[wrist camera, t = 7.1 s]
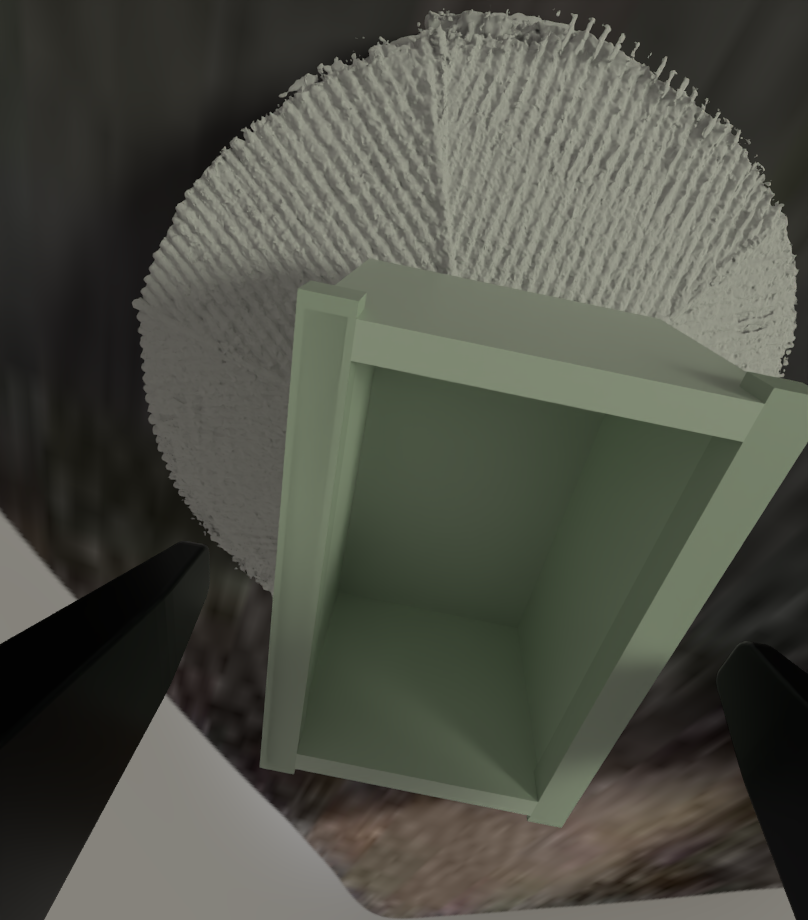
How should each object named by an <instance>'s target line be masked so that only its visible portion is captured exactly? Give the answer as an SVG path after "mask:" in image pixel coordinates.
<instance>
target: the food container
mask: <svg viewBox="0 0 808 920" xmlns="http://www.w3.org/2000/svg"><path fill="white" fill-rule="evenodd" d="M443 10H444V9H443ZM553 10H554V9H553ZM507 12H508V10H507ZM507 12H506V14H507ZM509 13H510V12H509ZM506 14H505V13H492V14H490V11H489V12H486V13H484V14H483V13H482V12H476V11H474V12H473V9H472V10H471V11H464V12H462V14H457V15H455V14H451V13H450V14H449V11H446V14H444V13H443V12H439V14H437V13H435V12H431V11H429V15H426V17H425V28H426V30H423V31H421V30H422V29H420V30H419V29H418V30H419V31H420V32H421V34H419V35H416V36H414V35H412V36H406V37H405V38H404V37H402V38H400V39H397V40H396V41H392V42H391V43H388V41H389V40H388V41H387V42H386V40H384V39H383V38H382V37H380V38H379V39H380V40H381V41H383V45H380V44H379V42H377V43H378V44H377V46H375V45H374V47H371V48H370V49H369V50H368V51H369V57H367V58H366V59H365V60H364V59H363V58H362V61H361V60H360V59H359V58H358V59H355V58H356V54H355V53H354V54H352V56H351V57H352V59H353V64H352V65H349V66H348V65H346V64H343V63H342V61H341V60H339V61H338V57H336V59H334V63H333V64H332V66H328V65H327V66H324V65H323V63H322V64H320V65H319V66H318V67H317V69H320V70H318V72H319V73H320V74H321V73H322V74H321V78H322V79H323V81H322V82H318V80H319V79H318V75H315V76H313V75H311V74H309V73H308V74H306V75H305V76H304V77H302V78H301V79H300V80H296V81H295V83H294V84H293V85H292V86H291V87H290V88H289V90H288V92H290V91H297V93H295V94H294V97H292V96H289V100H287V101H286V99H285V102H284V103H283V106H281V107H280V108H279V109H276V112H274V113H271V112H270V116H268V115H267V114H266V117H263V116H262V117H261V118H262V120H261V121H259V120H257V121H256V123H254V121H253V122H252V124H251V128H252V129H253V131H254V132H251V131H250V129H249V130H248V129H247V128H246V127H245V129H244V128H243V129H242V130H241V131H243V132H244V138H245V141H244V140H241V139H239V138H237V136H236V137H235V138H233V140H231V141H230V142H229V143H230V146H231V148H233V149H231V148H230V149H228V150H226V147H224V148H223V149H222V150H223V151H222V153H221V151H220V153H221V155H220V156H219V157H217V158H216V159H215V160H214V161H212V165H211V166H209V167H207V169H206V170H205V171H204V173H203V175H202V177H201V178H200V179H198V180H196V181H195V183H193V185H194V187H192V188H190V189H189V190H187V191H185V198H186V199H185V200H184V201H182V203H178V205H177V206H176V208H175V209H176V210H177V212H176V213H175V215H174V217H173V218H172V221H173V223H174V224H173V225H172V226H171V227H170V228H169V229H168V231H167V236H166V237H164V239H163V240H162V241H161V243H160V245H159V246H160V248H159V250H158V251H156V252H155V253H154V254H153V257H154V259H155V261H154V262H153V263H152V265H151V266H150V267H149V271H150V272H151V274H150V275H147V276H146V277H145V278H144V281H145V282H146V283H147V285H146V287H145V288H142V290H141V293H142V295H143V299H142V298H141V297H140V298H139V299H135V300H133V301H132V305H133V308H135V309H137V310H139V311H140V312H139V313H138V315H137V319H138V320H139V321H140V322H141V324H140V327H139V329H138V332H139V333H140V334H142V335H143V336H142V337H141V341H140V346H141V347H142V348H143V352H142V353H141V356H140V357H141V358H143V359H144V360H145V361H144V364H143V363H142V366H141V368H142V370H143V371H144V372H145V374H144V376H143V377H142V379H143V381H144V382H145V384H146V385H145V386H144V388H143V389H144V390H145V392H146V393H147V395H146V396H145V400H146V402H147V403H149V404H150V405H149V406H148V412H150V413H152V414H151V415H150V416H149V418H148V420H149V422H150V424H156V425H154V426H153V434H154V435H157V437H156V441H157V442H156V443H159V444H158V447H157V448H158V451H160V452H164V455H162V460H164V461H166V462H167V463H168V464H166V469H167V470H170V471H172V472H171V473H170V476H169V478H170V479H174V480H176V482H174V484H173V486H174V487H175V488H178V489H179V492H178V494H179V495H180V496H185V497H186V498H185V499H186V500H184V502H185V504H187V505H190V506H189V507H188V508H190V509H191V511H192V512H193V513H194V514H193V513H192V514H193V515H195V516H197V519H198V520H201V521H204V523H203V526H204V528H208V529H209V531H208V532H207V533H209V534H210V535H211V536H210V538H211V541H215V542H218V543H219V544H220V545H218V547H221V548H223V549H224V551H227V552H228V553H229V554H230V555H234V556H233V557H232V558H233V560H232V561H236V562H239V564H238V565H241V566H240V569H241V571H244V570H245V569H246V570H247V574H246V575H248V576H250V578H251V579H252V577H253V576H254V577H255V579H256V580H255V581H256V582H260V585H264V586H263V589H264V590H268V591H270V592H271V595H272V596H273V593H274V580H275V568H276V555H277V543H278V530H279V517H280V505H281V492H282V480H283V467H284V454H285V442H286V429H287V417H288V404H289V391H290V379H291V366H292V354H293V341H294V328H295V316H296V303H297V291H298V288H299V287H301V286H303V285H304V284H306V283H308V282H309V281H316V282H321V283H326V284H330V285H336V284H337V283H338V282H340V281H341V280H342V279H343V278H345V277H346V276H347V275H349V274H350V273H351V272H353V271H354V270H355V269H356V268H358V267H359V266H360V265H362V264H363V263H364V262H366V261H367V260H368V259H369V258H370V259H375V260H380V261H385V262H389V263H394V264H399V265H404V266H409V267H413V268H418V269H423V270H428V271H433V272H437V273H442V274H447V275H452V276H457V277H461V278H466V279H471V280H476V281H480V282H485V283H490V284H495V285H500V286H504V287H509V288H514V289H519V290H524V291H528V292H533V293H538V294H543V295H547V296H552V297H557V298H562V299H567V300H571V301H576V302H581V303H586V304H591V305H595V306H600V307H605V308H610V309H614V310H619V311H624V312H629V313H634V314H638V315H643V316H648V317H653V318H658V319H661V320H662V321H664V322H666V323H667V324H669V325H671V326H672V327H674V328H675V329H677V330H679V331H680V332H682V333H684V334H685V335H687V336H689V337H690V338H692V339H693V340H695V341H697V342H698V343H700V344H702V345H703V346H705V347H706V348H708V349H710V350H711V351H713V352H715V353H716V354H718V355H720V356H721V357H723V358H724V359H726V360H728V361H729V362H731V363H733V364H734V365H736V366H737V367H739V368H741V369H742V370H744V371H746V372H747V371H748V372H753V373H758V374H763V375H767V376H772V377H777V378H778V377H779V378H781V377H784V373H782V374H779V373H780V372H779V370H780V371H781V367H782V364H781V363H780V361H781V359H780V358H781V357H782V358H783V355H785V354H784V352H785V350H786V348H788V349H789V348H790V347H791V348H792V347H793V346H794V344H793V343H792V341H794V340H795V338H796V337H794V335H793V334H794V333H793V332H794V329H795V328H796V326H797V325H796V324H794V321H795V318H796V313H797V312H795V311H794V306H793V305H794V304H797V303H796V301H797V300H796V297H795V291H797V290H795V289H796V288H797V287H796V286H797V285H796V282H795V280H796V277H794V276H795V275H797V273H798V271H799V270H797V269H796V268H795V264H796V263H795V261H794V258H795V257H796V256H797V255H793V254H792V249H791V248H792V247H791V246H792V245H793V244H792V245H789V244H790V241H789V240H788V239H789V238H788V237H787V231H786V227H787V225H788V220H787V217H786V216H785V214H783V213H782V212H781V209H782V207H783V206H784V204H778V203H779V201H778V202H776V203H775V206H771V204H770V201H771V198H772V197H773V196H774V195H775V193H774V194H773V193H772V192H771V189H770V188H766V187H764V184H766V185H767V186H771V183H770V182H765V183H762V181H764V180H765V175H764V174H762V175H761V176H759V174H760V173H759V171H760V170H761V169H760V170H758V169H756V168H757V165H758V166H760V164H759V162H758V163H756V162H755V163H754V164H753V166H751V164H752V163H750V162H749V159H748V158H747V155H748V152H747V151H746V149H742V147H741V146H740V145H739V143H737V142H738V141H739V135H740V130H738V129H735V128H734V129H735V130H736V131H737V134H736V135H735V136H734V135H733V134H732V133H731V130H732V129H731V128H732V127H733V125H731V124H730V123H729V121H728V119H725V118H723V119H724V121H726V122H727V123H726V124H720V120H721V119H720V118H719V119H717V118H718V116H719V115H720V112H719V113H718V112H717V114H716V117H715V118H714V119H712V117H711V115H709V114H707V113H706V112H705V111H704V110H705V106H706V104H707V102H708V98H707V100H706V99H705V100H706V104H705V106H704V105H703V104H702V108H700V107H697V106H696V105H695V101H694V99H695V97H696V96H697V95H698V94H697V91H696V89H695V88H694V87H692V88H693V93H692V95H691V96H690V97H688V96H687V95H686V91H684V90H685V88H686V87H687V85H688V83H689V79H688V78H684V81H683V83H682V84H681V86H680V89H677V92H676V91H675V90H674V89H673V88H671V87H670V86H669V85H670V81H671V79H672V78H673V76H674V73H675V74H677V73H676V72H675V70H673V71H670V76H669V79H668V81H667V80H666V82H662V81H660V80H657V79H658V77H659V75H660V73H661V72H662V70H663V68H664V67H665V63H666V61H667V57H664V58H663V59H662V61H663V62H662V64H661V65H660V66H659V67H660V68H658V70H657V72H656V73H655V72H654V73H655V74H656V75H654V74H653V73H652V72H651V71H650V70H649V66H645V65H644V64H640V62H637V61H635V60H634V58H633V59H632V58H630V57H628V56H626V55H625V53H624V52H622V51H620V50H619V49H620V48H621V44H620V43H623V41H624V39H625V36H624V33H621V36H620V38H619V41H618V42H617V44H616V46H615V47H614V46H613V44H612V43H611V42H610V43H608V42H606V41H604V40H605V38H606V36H607V34H608V33H609V32H610V31H611V28H610V26H609V25H605V28H606V29H605V30H604V32H603V34H602V35H601V37H600V38H599V40H597V38H596V37H595V36H594V35H592V34H591V33H590V34H589V31H590V29H591V27H592V24H593V23H594V22H595V19H594V18H589V20H590V22H589V24H588V25H587V29H586V30H585V31H580V30H578V31H575V30H574V24H575V21H576V19H577V16H578V14H572V13H571V15H572V21H571V23H570V24H569V25H570V26H569V25H567V24H563V23H554V22H552V21H548V20H541V18H538V17H539V16H538V17H535V16H525V15H524V14H521V13H516V14H513V15H512V16H508V14H507V15H506ZM559 14H560V11H559V12H557V14H556V15H557V16H559ZM439 15H440V16H439ZM441 15H443V16H441ZM594 24H595V23H594ZM417 26H418V27H419V26H420V23H419V22H418V23H417ZM602 26H603V24H602ZM419 31H418V32H419ZM363 38H364V37H363ZM635 43H636V48H635V49H634V52H633V51H632V54H631V56H633V57H635V55H634V53H635V50H636V49H637V48H638V47H639V45H640V43H639V42H638V43H637V42H635ZM386 44H387V45H386ZM353 52H354V51H353ZM651 54H652V53H651ZM651 54H650V56H651ZM359 56H360V55H359ZM648 58H649V56H648ZM350 60H351V59H350ZM351 61H352V60H351ZM346 62H348V60H346ZM322 68H324V70H325V71H326V72H327V73H328V75H324V77H323V69H322ZM332 70H333V72H332ZM314 82H316V83H314ZM697 89H698V88H697ZM288 92H284V93H283V94H280V95H279V97H281V98H282V97H286V96H287V93H288ZM709 102H710V101H709ZM278 107H279V104H278ZM718 111H719V109H718ZM741 139H742V137H741ZM744 139H745V138H744ZM749 140H750V139H749ZM749 140H746V141H748V144H750V141H749ZM745 144H746V143H745ZM745 152H746V153H745ZM756 156H758V155H756ZM756 156H755V157H756ZM755 167H756V168H755ZM762 167H763V166H762V165H761V168H762ZM763 171H765V169H764V167H763ZM770 181H771V180H770ZM773 200H774V199H773ZM795 323H796V322H795ZM790 353H791V350H789V351H788V350H787V352H786V354H787V355H789V354H790ZM785 358H786V357H785ZM785 358H784V363H783V365H785V366H786V365H788V361H787V360H785ZM786 359H788V358H786ZM784 371H785V369H784ZM778 372H779V373H778ZM182 501H183V500H182ZM191 519H195V518H191ZM199 523H200V522H199ZM199 525H201V523H200V524H199ZM201 526H202V525H201ZM204 533H205V535H206V532H205V531H204ZM236 569H238V568H237V567H236V568H235V570H236ZM244 572H245V571H244Z"/></svg>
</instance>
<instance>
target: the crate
mask: <svg viewBox="0 0 808 920" xmlns="http://www.w3.org/2000/svg"><path fill="white" fill-rule="evenodd" d="M807 442H808V386H807V385H805V384H804V383H801V382H796V381H791V380H787V379H782V378H777V377H772V376H767V375H763V374H758V373H753V372H748V371H747V372H746V371H744V370H742V369H741V368H739V367H737V366H736V365H734V364H733V363H731V362H729V361H728V360H726V359H724V358H723V357H721V356H720V355H718V354H716V353H715V352H713V351H711V350H710V349H708V348H706V347H705V346H703V345H702V344H700V343H698V342H697V341H695V340H693V339H692V338H690V337H689V336H687V335H685V334H684V333H682V332H680V331H679V330H677V329H675V328H674V327H672V326H671V325H669V324H667V323H666V322H664V321H662V320H661V319H658V318H653V317H648V316H643V315H638V314H634V313H629V312H624V311H619V310H614V309H610V308H605V307H600V306H595V305H591V304H586V303H581V302H576V301H571V300H567V299H562V298H557V297H552V296H547V295H543V294H538V293H533V292H528V291H524V290H519V289H514V288H509V287H504V286H500V285H495V284H490V283H485V282H480V281H476V280H471V279H466V278H461V277H457V276H452V275H447V274H442V273H437V272H433V271H428V270H423V269H418V268H413V267H409V266H404V265H399V264H394V263H389V262H385V261H380V260H375V259H370V258H369V259H368V260H367V261H366V262H364V263H363V264H362V265H360V266H359V267H358V268H356V269H355V270H354V271H353V272H351V273H350V274H349V275H347V276H346V277H345V278H343V279H342V280H341V281H340V282H338V283H337V284H336V285H330V284H326V283H321V282H316V281H309V282H308V283H306V284H304V285H303V286H301V287H299V288H298V291H297V303H296V316H295V328H294V341H293V354H292V366H291V379H290V391H289V404H288V417H287V429H286V442H285V454H284V467H283V480H282V492H281V505H280V517H279V530H278V543H277V555H276V568H275V580H274V593H273V605H272V618H271V631H270V643H269V656H268V668H267V681H266V694H265V706H264V719H263V731H262V744H261V757H260V768H264V769H269V770H274V771H279V772H284V773H289V774H294V772H295V769H299V770H304V771H309V772H314V773H319V774H324V775H329V776H334V777H339V778H344V779H349V780H354V781H359V782H364V783H369V784H374V785H379V786H384V787H389V788H394V789H399V790H404V791H409V792H414V793H419V794H424V795H429V796H434V797H439V798H444V799H449V800H454V801H459V802H464V803H469V804H474V805H479V806H484V807H489V808H494V809H499V810H504V811H509V812H514V813H519V814H524V815H527V821H530V822H535V823H540V824H545V825H550V826H555V827H560V828H561V827H562V826H563V824H564V823H565V821H566V820H567V818H568V817H569V815H570V813H571V812H572V810H573V809H574V807H575V806H576V804H577V802H578V801H579V799H580V798H581V796H582V795H583V793H584V791H585V790H586V788H587V787H588V785H589V784H590V782H591V780H592V779H593V777H594V776H595V774H596V773H597V771H598V770H599V768H600V766H601V765H602V763H603V762H604V760H605V759H606V757H607V755H608V754H609V752H610V751H611V749H612V748H613V746H614V744H615V743H616V741H617V740H618V738H619V737H620V735H621V734H622V732H623V730H624V729H625V727H626V726H627V724H628V723H629V721H630V719H631V718H632V716H633V715H634V713H635V712H636V710H637V708H638V707H639V705H640V704H641V702H642V701H643V699H644V697H645V696H646V694H647V693H648V691H649V690H650V688H651V687H652V685H653V683H654V682H655V680H656V679H657V677H658V676H659V674H660V672H661V671H662V669H663V668H664V666H665V665H666V663H667V661H668V660H669V658H670V657H671V655H672V654H673V652H674V650H675V649H676V647H677V646H678V644H679V643H680V641H681V640H682V638H683V636H684V635H685V633H686V632H687V630H688V629H689V627H690V625H691V624H692V622H693V621H694V619H695V618H696V616H697V614H698V613H699V611H700V610H701V608H702V607H703V605H704V603H705V602H706V600H707V599H708V597H709V596H710V594H711V593H712V591H713V589H714V588H715V586H716V585H717V583H718V582H719V580H720V578H721V577H722V575H723V574H724V572H725V571H726V569H727V567H728V566H729V564H730V563H731V561H732V560H733V558H734V556H735V555H736V553H737V552H738V550H739V549H740V547H741V546H742V544H743V542H744V541H745V539H746V538H747V536H748V535H749V533H750V531H751V530H752V528H753V527H754V525H755V524H756V522H757V520H758V519H759V517H760V516H761V514H762V513H763V511H764V510H765V508H766V506H767V505H768V503H769V502H770V500H771V499H772V497H773V495H774V494H775V492H776V491H777V489H778V488H779V486H780V484H781V483H782V481H783V480H784V478H785V477H786V475H787V473H788V472H789V470H790V469H791V467H792V466H793V464H794V463H795V461H796V459H797V458H798V456H799V455H800V453H801V452H802V450H803V448H804V447H805V445H806V444H807Z"/></svg>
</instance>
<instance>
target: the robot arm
mask: <svg viewBox="0 0 808 920" xmlns="http://www.w3.org/2000/svg"><path fill="white" fill-rule="evenodd" d="M209 584H210V572H209V549H208V547H207V546H206V545H204V544H200V543H194V542H189V541H182V542H179V543H177V544H175V545H173V546H171V547H170V548H168V549H166V550H164V551H163V552H161V553H159V554H157V555H156V556H154V557H152V558H150V559H149V560H147V561H145V562H143V563H142V564H140V565H138V566H136V567H135V568H133V569H131V570H129V571H128V572H126V573H124V574H122V575H121V576H119V577H117V578H115V579H114V580H112V581H110V582H108V583H107V584H105V585H103V586H101V587H100V588H98V589H96V590H94V591H93V592H91V593H89V594H87V595H86V596H84V597H82V598H80V599H79V600H77V601H75V602H73V603H72V604H70V605H68V606H66V607H65V608H63V609H61V610H59V611H57V612H56V613H54V614H52V615H51V616H49V617H47V618H45V619H43V620H42V621H40V622H38V623H36V624H35V625H33V626H31V627H30V628H28V629H26V630H24V631H23V632H21V633H19V634H17V635H15V636H14V637H12V638H10V639H8V640H7V641H5V642H3V643H2V644H0V920H44V919H45V917H46V915H47V913H48V912H49V910H50V908H51V906H52V904H53V902H54V901H55V899H56V897H57V895H58V893H59V891H60V889H61V888H62V886H63V884H64V882H65V880H66V878H67V876H68V875H69V873H70V871H71V869H72V867H73V865H74V863H75V862H76V860H77V858H78V856H79V854H80V852H81V850H82V848H83V847H84V845H85V843H86V841H87V839H88V837H89V836H90V834H91V832H92V830H93V828H94V826H95V824H96V822H97V821H98V819H99V817H100V815H101V813H102V811H103V810H104V808H105V806H106V804H107V802H108V800H109V798H110V796H111V795H112V793H113V791H114V789H115V787H116V785H117V784H118V782H119V780H120V778H121V776H122V774H123V772H124V771H125V769H126V767H127V765H128V763H129V761H130V760H131V758H132V756H133V754H134V752H135V750H136V748H137V747H138V745H139V743H140V741H141V739H142V737H143V735H144V734H145V732H146V730H147V728H148V726H149V724H150V722H151V720H152V718H153V717H154V715H155V713H156V711H157V709H158V707H159V706H160V704H161V702H162V700H163V698H164V696H165V694H166V692H167V690H168V688H169V686H170V684H171V682H172V680H173V678H174V675H175V673H176V671H177V668H178V666H179V663H180V661H181V658H182V656H183V653H184V651H185V648H186V646H187V644H188V641H189V639H190V636H191V634H192V631H193V629H194V626H195V624H196V621H197V619H198V616H199V614H200V611H201V609H202V607H203V604H204V602H205V599H206V596H207V593H208V590H209ZM716 683H717V689H718V693H719V696H720V700H721V703H722V707H723V710H724V714H725V718H726V721H727V725H728V728H729V732H730V735H731V739H732V742H733V746H734V750H735V753H736V757H737V760H738V764H739V767H740V770H741V774H742V777H743V780H744V783H745V786H746V789H747V792H748V794H749V797H750V800H751V802H752V805H753V808H754V810H755V813H756V816H757V818H758V821H759V823H760V826H761V829H762V831H763V834H764V837H765V839H766V842H767V845H768V847H769V850H770V852H771V855H772V858H773V860H774V863H775V866H776V868H777V871H778V874H779V876H780V879H781V881H782V884H783V887H784V889H785V892H786V895H787V897H788V900H789V902H790V905H791V907H792V910H793V913H794V916H795V918H796V920H808V674H807V673H806V672H804V671H803V670H802V669H800V668H799V667H798V666H796V665H795V664H794V663H792V662H791V661H790V660H788V659H787V658H786V657H785V656H783V655H782V654H781V653H779V652H778V651H777V650H775V649H774V648H772V647H771V646H768V645H765V644H760V643H754V642H748V641H746V642H742V643H740V644H738V645H737V646H736V648H735V649H734V650H733V652H732V653H731V655H730V656H729V657H728V659H727V660H726V661H725V663H724V664H723V665H722V667H721V668H720V670H719V671H718V674H717V679H716Z"/></svg>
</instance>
